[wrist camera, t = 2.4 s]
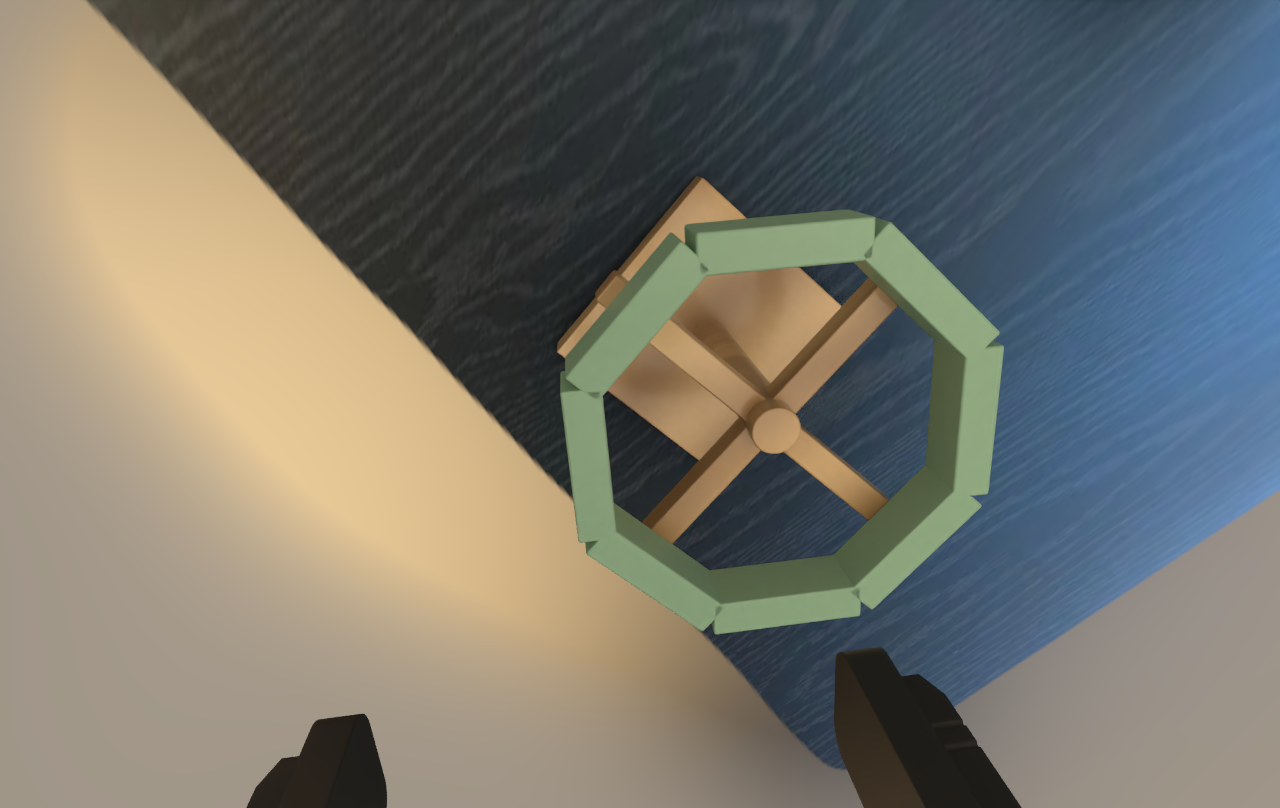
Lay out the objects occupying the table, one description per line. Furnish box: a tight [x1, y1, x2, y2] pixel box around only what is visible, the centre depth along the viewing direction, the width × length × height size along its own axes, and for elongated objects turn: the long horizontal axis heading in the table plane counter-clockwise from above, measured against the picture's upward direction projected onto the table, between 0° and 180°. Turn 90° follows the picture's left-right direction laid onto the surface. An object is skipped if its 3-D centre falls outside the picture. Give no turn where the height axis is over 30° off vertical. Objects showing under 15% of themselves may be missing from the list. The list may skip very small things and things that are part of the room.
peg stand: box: [557, 176, 898, 544], centre depth 29 cm, size 14×14×13 cm
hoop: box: [560, 209, 1004, 634], centre depth 23 cm, size 13×13×2 cm
